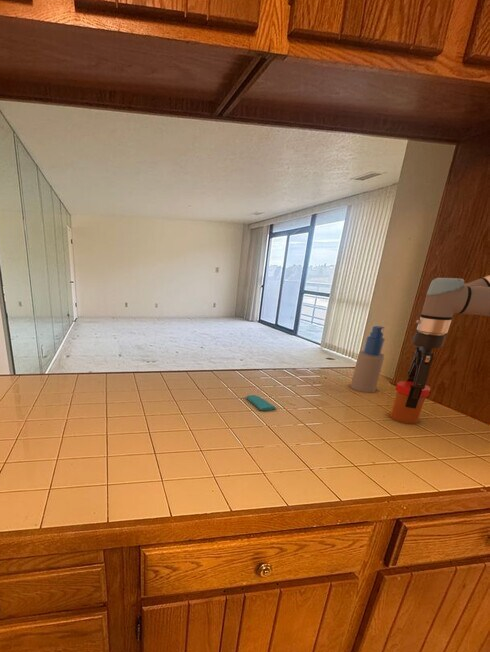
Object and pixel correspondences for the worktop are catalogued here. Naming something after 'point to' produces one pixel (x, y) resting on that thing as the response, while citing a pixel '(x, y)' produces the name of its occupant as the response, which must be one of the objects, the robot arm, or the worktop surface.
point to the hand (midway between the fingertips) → (408, 402)
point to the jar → (406, 409)
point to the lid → (405, 388)
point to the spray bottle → (369, 362)
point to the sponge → (260, 402)
